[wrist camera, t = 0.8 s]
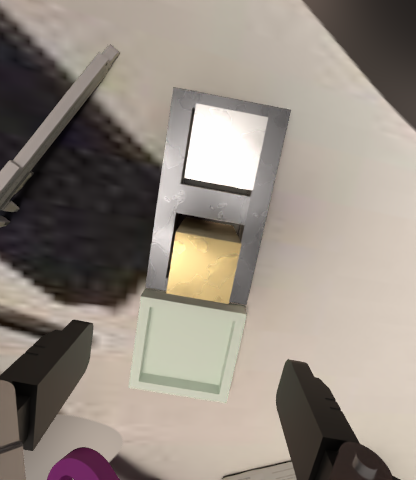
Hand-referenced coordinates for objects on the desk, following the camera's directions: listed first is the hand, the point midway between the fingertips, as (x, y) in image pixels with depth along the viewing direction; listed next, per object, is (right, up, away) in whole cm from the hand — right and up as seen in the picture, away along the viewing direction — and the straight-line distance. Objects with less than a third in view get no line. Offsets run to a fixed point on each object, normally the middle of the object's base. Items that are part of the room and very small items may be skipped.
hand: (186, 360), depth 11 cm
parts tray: (-2, -7, +20) cm, 22 cm away
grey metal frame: (+1, +9, +17) cm, 19 cm away
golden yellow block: (+1, +4, +18) cm, 19 cm away
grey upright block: (+2, +13, +16) cm, 21 cm away
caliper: (-14, +15, +16) cm, 26 cm away
